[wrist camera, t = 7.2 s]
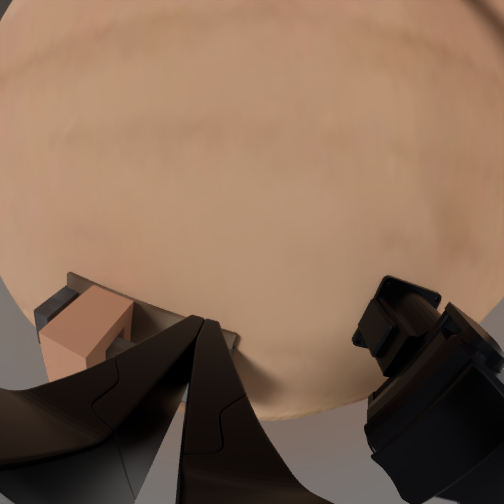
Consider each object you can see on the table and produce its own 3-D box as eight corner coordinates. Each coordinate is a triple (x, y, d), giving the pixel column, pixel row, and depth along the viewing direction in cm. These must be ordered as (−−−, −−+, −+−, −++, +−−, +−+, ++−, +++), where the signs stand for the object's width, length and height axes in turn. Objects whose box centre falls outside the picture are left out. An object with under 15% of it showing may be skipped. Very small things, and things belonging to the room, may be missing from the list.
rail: (238, 333, 22) (231, 379, 17) (220, 384, 24) (211, 427, 19) (68, 270, 21) (31, 295, 16) (70, 325, 24) (41, 354, 18)
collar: (133, 301, 21) (85, 358, 14) (129, 361, 23) (94, 418, 16) (93, 284, 21) (38, 331, 13) (93, 345, 23) (53, 395, 16)
